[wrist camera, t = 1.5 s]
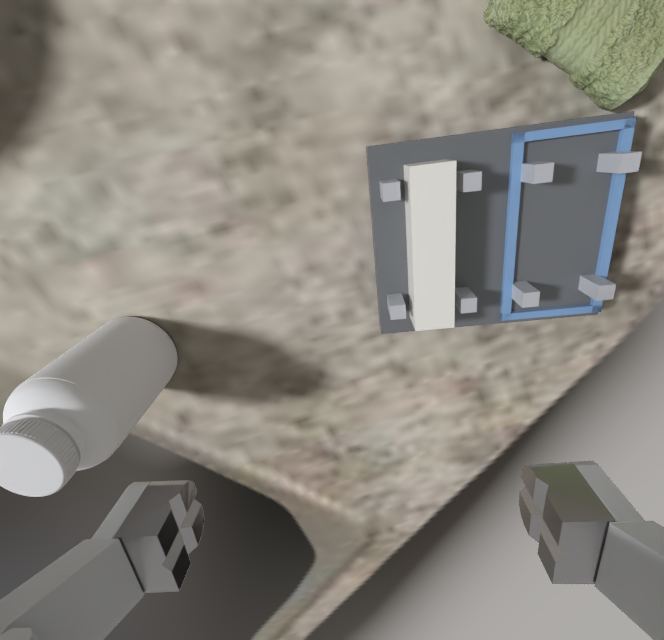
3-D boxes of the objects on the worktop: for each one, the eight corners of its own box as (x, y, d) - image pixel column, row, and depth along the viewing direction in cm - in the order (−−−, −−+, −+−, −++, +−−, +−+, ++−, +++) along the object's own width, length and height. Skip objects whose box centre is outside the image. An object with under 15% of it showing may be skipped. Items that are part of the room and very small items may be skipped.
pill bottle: (197, 355, 37) (109, 476, 23) (147, 397, 39) (40, 530, 26) (132, 297, 35) (-8, 393, 21) (83, 346, 37) (-71, 461, 23)
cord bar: (403, 164, 27) (409, 166, 25) (445, 159, 27) (456, 160, 24) (409, 315, 32) (415, 331, 29) (445, 312, 32) (454, 327, 29)
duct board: (365, 146, 29) (369, 146, 25) (615, 113, 27) (662, 107, 23) (379, 324, 35) (383, 347, 31) (584, 305, 33) (617, 327, 29)
